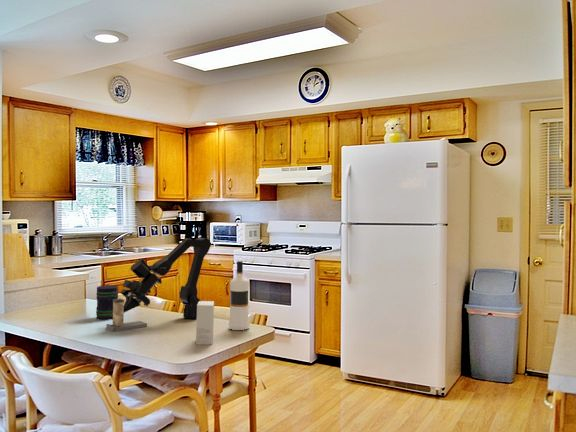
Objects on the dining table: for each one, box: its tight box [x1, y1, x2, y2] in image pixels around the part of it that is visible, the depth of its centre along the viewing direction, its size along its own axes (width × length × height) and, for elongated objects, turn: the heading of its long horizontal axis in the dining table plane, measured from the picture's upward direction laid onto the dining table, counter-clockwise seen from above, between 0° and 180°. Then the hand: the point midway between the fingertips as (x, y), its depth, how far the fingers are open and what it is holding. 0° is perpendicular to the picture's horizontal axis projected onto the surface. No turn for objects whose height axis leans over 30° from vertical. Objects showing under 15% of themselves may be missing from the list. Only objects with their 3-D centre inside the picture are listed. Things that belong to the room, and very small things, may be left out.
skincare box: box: [195, 300, 215, 346], centre depth 194 cm, size 8×7×16 cm
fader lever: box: [112, 298, 125, 326], centre depth 213 cm, size 3×4×11 cm
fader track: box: [105, 320, 148, 333], centre depth 216 cm, size 16×7×2 cm, turn 133°
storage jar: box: [95, 285, 119, 321], centre depth 236 cm, size 10×10×15 cm
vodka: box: [228, 260, 250, 331], centre depth 217 cm, size 9×9×30 cm
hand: (122, 312), depth 215 cm, fingers closed, pressing on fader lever
